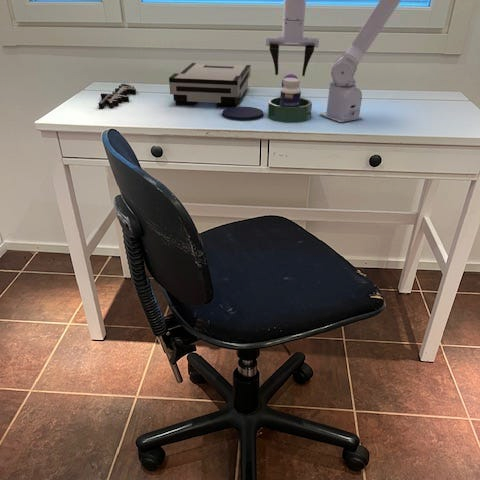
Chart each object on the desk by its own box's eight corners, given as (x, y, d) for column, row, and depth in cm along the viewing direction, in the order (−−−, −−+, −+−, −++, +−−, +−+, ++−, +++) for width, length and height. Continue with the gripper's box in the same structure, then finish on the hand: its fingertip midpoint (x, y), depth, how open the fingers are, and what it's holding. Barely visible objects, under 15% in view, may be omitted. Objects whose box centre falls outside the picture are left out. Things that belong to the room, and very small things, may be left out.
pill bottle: (283, 119, 140) (285, 81, 134) (276, 114, 144) (278, 77, 138) (301, 118, 141) (304, 80, 135) (294, 113, 145) (297, 76, 139)
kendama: (276, 92, 150) (281, 73, 164) (279, 111, 153) (283, 91, 168) (295, 89, 148) (298, 70, 163) (297, 109, 152) (300, 89, 167)
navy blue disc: (272, 117, 142) (272, 113, 141) (235, 123, 137) (235, 119, 136) (249, 107, 150) (249, 104, 150) (214, 112, 145) (214, 109, 145)
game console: (250, 86, 173) (250, 61, 168) (237, 110, 148) (237, 80, 143) (193, 84, 175) (192, 59, 170) (171, 107, 150) (168, 77, 145)
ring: (318, 118, 141) (320, 103, 139) (283, 124, 136) (284, 109, 133) (293, 108, 149) (294, 94, 147) (259, 114, 144) (260, 99, 142)
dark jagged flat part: (111, 83, 168) (139, 83, 168) (111, 88, 169) (140, 88, 169) (90, 103, 146) (123, 103, 146) (91, 108, 147) (124, 109, 147)
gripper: (320, 18, 134) (315, 73, 142) (268, 17, 135) (265, 71, 143) (320, 21, 128) (315, 78, 136) (266, 20, 129) (264, 76, 138)
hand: (290, 74), depth 139 cm, fingers open, 7 cm apart
